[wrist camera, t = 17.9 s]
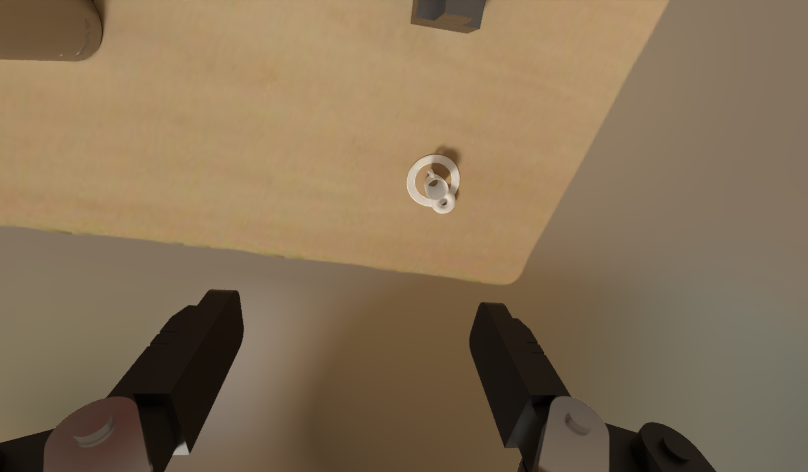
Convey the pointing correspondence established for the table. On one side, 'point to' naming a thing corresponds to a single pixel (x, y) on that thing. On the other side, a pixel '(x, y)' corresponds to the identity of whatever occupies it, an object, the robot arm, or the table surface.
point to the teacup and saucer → (438, 192)
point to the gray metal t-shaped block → (448, 14)
